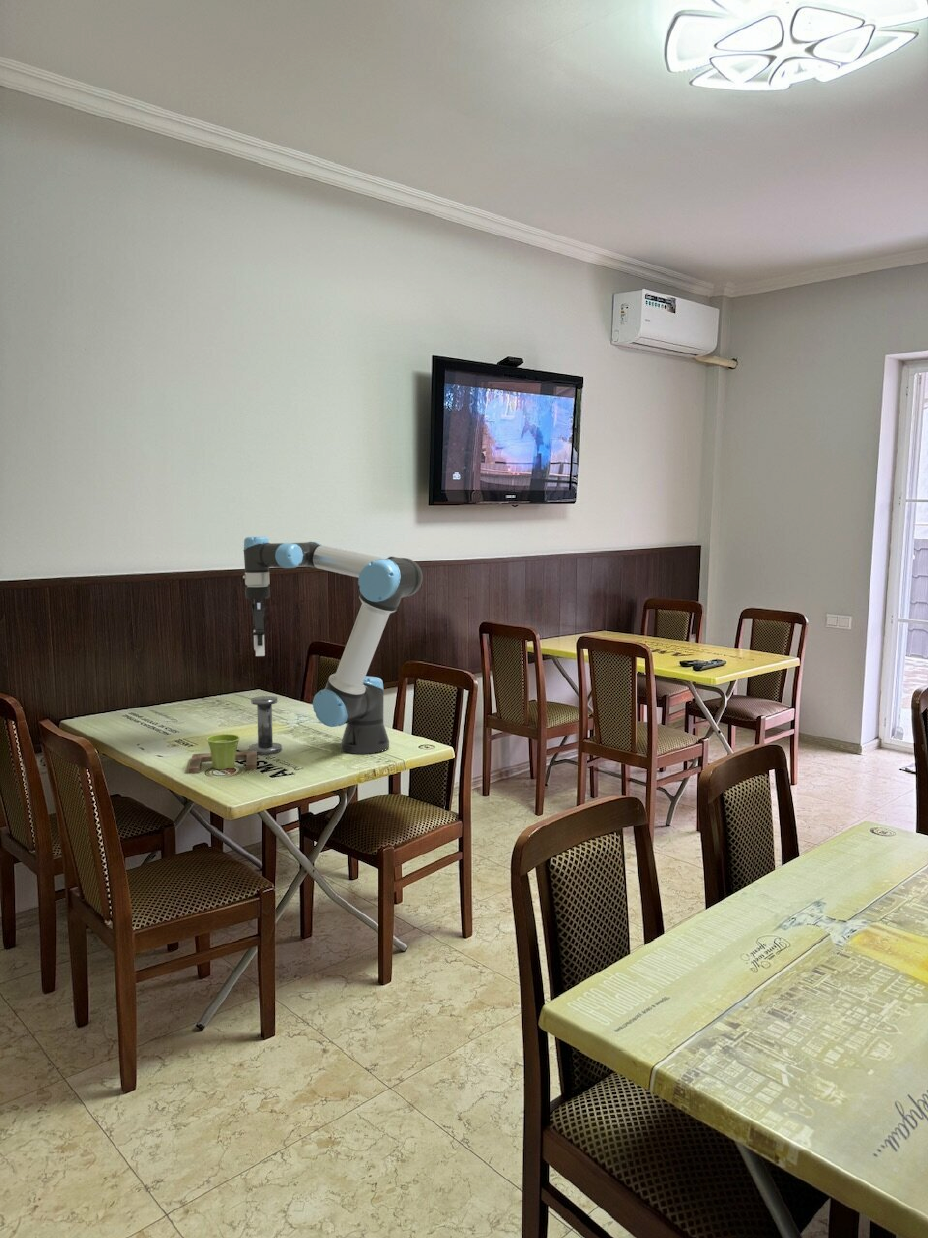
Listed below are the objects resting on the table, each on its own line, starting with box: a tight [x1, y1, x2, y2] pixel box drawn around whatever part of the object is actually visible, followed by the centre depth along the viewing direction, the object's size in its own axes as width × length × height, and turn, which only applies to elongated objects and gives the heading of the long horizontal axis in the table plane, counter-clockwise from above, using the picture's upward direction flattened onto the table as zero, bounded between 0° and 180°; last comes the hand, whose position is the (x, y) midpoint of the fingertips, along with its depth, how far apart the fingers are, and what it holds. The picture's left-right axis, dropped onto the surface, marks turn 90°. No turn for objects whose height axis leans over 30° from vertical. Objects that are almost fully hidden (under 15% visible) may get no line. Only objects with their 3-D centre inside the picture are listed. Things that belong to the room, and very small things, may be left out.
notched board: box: [187, 750, 258, 774], centre depth 263 cm, size 19×16×2 cm
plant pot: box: [206, 733, 241, 770], centre depth 260 cm, size 9×9×9 cm
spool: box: [248, 695, 283, 756], centre depth 278 cm, size 10×10×17 cm
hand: (259, 652), depth 282 cm, fingers open, 13 cm apart
